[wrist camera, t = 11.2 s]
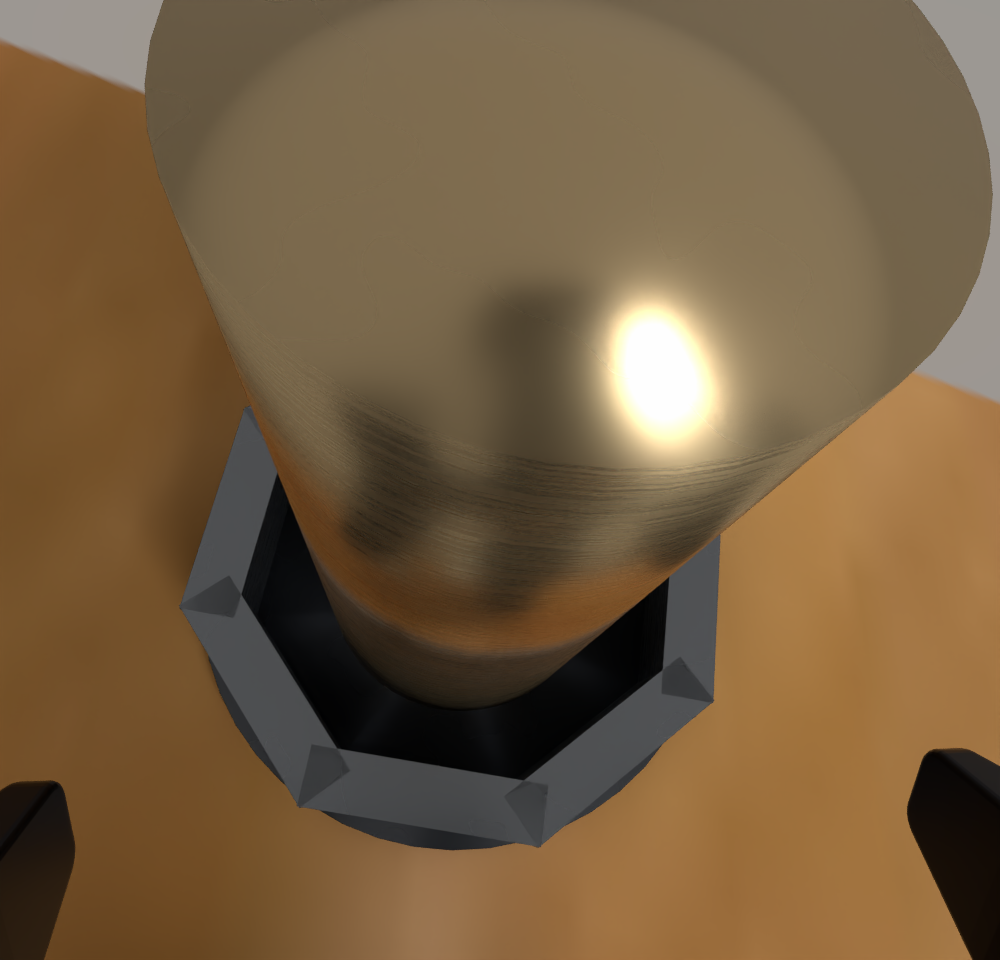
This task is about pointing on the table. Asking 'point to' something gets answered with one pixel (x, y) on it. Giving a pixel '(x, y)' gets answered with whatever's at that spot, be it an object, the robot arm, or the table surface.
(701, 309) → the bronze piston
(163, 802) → the table surface
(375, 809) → the ring collar
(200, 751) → the table surface
